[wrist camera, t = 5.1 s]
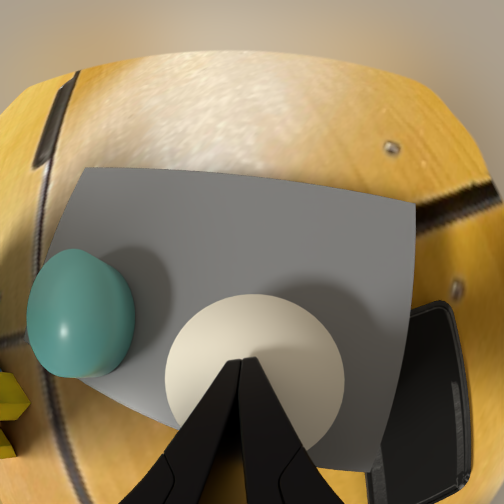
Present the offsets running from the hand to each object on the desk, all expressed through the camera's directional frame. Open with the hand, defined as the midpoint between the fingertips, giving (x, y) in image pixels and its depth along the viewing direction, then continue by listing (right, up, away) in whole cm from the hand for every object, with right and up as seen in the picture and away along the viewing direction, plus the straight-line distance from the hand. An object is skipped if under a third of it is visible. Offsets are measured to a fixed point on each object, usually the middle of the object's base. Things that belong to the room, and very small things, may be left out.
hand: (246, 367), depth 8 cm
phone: (+11, -8, +6) cm, 15 cm away
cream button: (+1, -2, +5) cm, 5 cm away
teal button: (-7, -1, +6) cm, 9 cm away
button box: (-2, -1, +10) cm, 11 cm away
